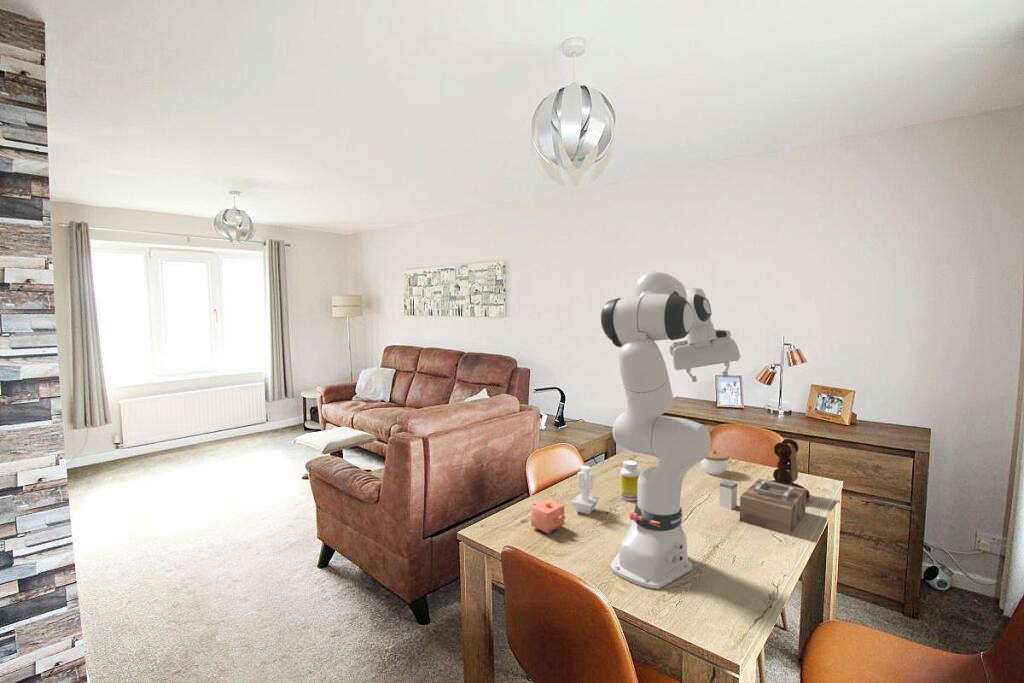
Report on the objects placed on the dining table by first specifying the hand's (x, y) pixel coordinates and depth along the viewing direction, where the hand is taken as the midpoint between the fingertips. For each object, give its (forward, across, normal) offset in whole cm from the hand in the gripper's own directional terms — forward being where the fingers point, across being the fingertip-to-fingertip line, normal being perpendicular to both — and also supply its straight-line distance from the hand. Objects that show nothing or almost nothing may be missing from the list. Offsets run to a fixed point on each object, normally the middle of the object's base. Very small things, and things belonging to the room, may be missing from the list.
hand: (710, 379), depth 150 cm
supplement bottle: (+37, -34, +12) cm, 51 cm away
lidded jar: (+36, -4, +48) cm, 60 cm away
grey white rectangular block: (+42, -2, +16) cm, 45 cm away
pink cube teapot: (+38, -55, -19) cm, 70 cm away
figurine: (+37, -47, -3) cm, 60 cm away
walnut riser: (+46, +10, +12) cm, 48 cm away
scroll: (+44, +17, +32) cm, 56 cm away
